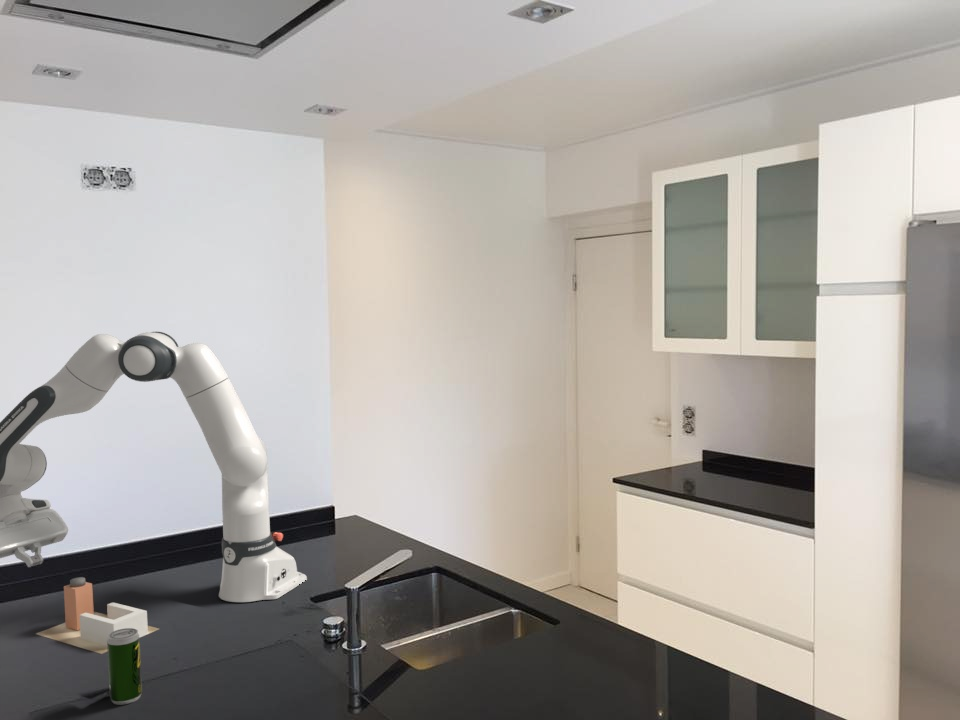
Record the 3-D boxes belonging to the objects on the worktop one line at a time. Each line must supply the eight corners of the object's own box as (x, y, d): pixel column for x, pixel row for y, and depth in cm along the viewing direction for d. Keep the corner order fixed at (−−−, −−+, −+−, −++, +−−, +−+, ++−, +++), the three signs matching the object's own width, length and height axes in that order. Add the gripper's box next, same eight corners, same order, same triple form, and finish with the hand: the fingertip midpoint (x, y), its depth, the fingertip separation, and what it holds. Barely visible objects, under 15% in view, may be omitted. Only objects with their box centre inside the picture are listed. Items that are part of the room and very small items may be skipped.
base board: (94, 618, 185) (94, 611, 185) (160, 635, 175) (159, 628, 175) (35, 640, 173) (35, 633, 173) (101, 661, 162) (101, 653, 162)
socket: (114, 624, 177) (113, 602, 177) (148, 633, 172) (146, 610, 172) (80, 638, 170) (79, 614, 170) (114, 648, 165) (113, 624, 165)
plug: (82, 620, 179) (80, 575, 179) (94, 623, 178) (91, 578, 177) (65, 627, 176) (63, 581, 175) (77, 630, 174) (74, 583, 173)
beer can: (112, 708, 143) (109, 642, 142) (107, 696, 147) (104, 632, 147) (145, 699, 146) (142, 634, 145) (139, 688, 150) (136, 625, 150)
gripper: (-34, 518, 177) (-6, 569, 173) (54, 498, 195) (82, 543, 191) (-44, 536, 180) (-16, 586, 176) (44, 514, 198) (71, 559, 193)
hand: (36, 563), depth 183 cm, fingers closed
